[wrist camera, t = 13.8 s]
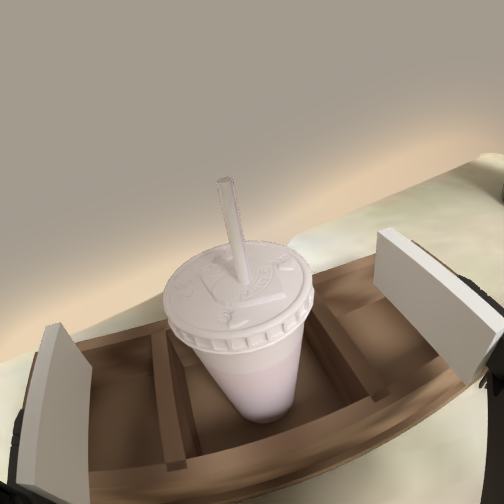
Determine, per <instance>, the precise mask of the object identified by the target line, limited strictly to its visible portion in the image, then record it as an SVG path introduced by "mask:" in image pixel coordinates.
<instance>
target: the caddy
mask: <svg viewBox="0 0 504 504" xmlns="http://www.w3.org/2000/svg"><path fill="white" fill-rule="evenodd" d="M411 242H413V243H414V244H415V245H417V246H418V247H419V248H421V249H422V250H423V251H425V252H426V253H427V254H429V255H430V256H431V257H433V258H434V259H435V260H436V261H438V262H439V263H440V264H441V265H443V266H444V267H445V268H447V269H448V270H449V271H450V272H451V273H453V274H454V275H455V276H458V274H456V273H455V272H454V271H453V270H451V269H450V268H449V267H448V266H446V265H445V264H444V263H442V262H441V261H440V260H439V259H437V258H436V257H435V256H433V255H432V254H431V253H429V252H428V251H427V250H425V249H424V248H423V247H421V246H420V245H419V244H417V243H416V242H414V241H413V240H411ZM375 258H376V253H375V254H373V255H370V256H367V257H364V258H361V259H358V260H355V261H352V262H350V263H347V264H344V265H341V266H338V267H335V268H332V269H329V270H326V271H323V272H320V273H317V274H314V275H312V285H313V288H314V300H313V306H312V308H311V310H310V312H309V314H308V316H307V318H306V320H305V321H304V330H303V336H302V344H301V351H300V359H299V366H298V373H297V380H296V386H295V393H294V399H293V404H292V406H291V408H290V410H289V411H288V412H287V414H286V415H284V416H283V417H282V418H280V419H278V420H276V421H274V422H270V423H255V422H251V421H249V420H247V419H245V418H244V417H243V416H242V415H241V414H240V413H239V412H238V411H237V409H236V408H235V407H234V405H233V404H232V403H231V401H230V400H229V399H228V397H227V396H226V395H225V393H224V392H223V391H222V389H221V388H220V387H219V385H218V384H217V383H216V381H215V380H214V378H213V377H212V376H211V374H210V373H209V371H208V370H207V369H206V367H205V366H204V364H203V363H202V361H201V360H200V359H199V357H198V356H197V355H196V353H195V352H194V350H193V349H192V347H189V346H188V345H186V344H185V343H184V342H183V341H181V340H180V339H179V338H178V337H176V336H175V334H174V332H173V331H172V329H171V327H170V325H169V323H168V319H166V320H162V321H159V322H155V323H151V324H148V325H144V326H140V327H136V328H133V329H129V330H125V331H121V332H117V333H113V334H109V335H106V336H102V337H98V338H94V339H89V340H85V341H81V342H77V343H75V344H76V346H77V347H78V349H79V350H80V351H81V353H82V354H83V355H84V357H85V358H86V360H87V361H88V362H89V364H90V365H91V366H92V377H91V389H90V403H89V423H88V476H89V495H90V504H228V503H232V502H236V501H240V500H244V499H248V498H252V497H255V496H259V495H262V494H266V493H269V492H272V491H276V490H279V489H282V488H285V487H288V486H291V485H293V484H296V483H299V482H302V481H304V480H307V479H310V478H312V477H315V476H317V475H320V474H322V473H325V472H327V471H329V470H332V469H334V468H336V467H338V466H341V465H343V464H345V463H347V462H349V461H351V460H354V459H356V458H358V457H360V456H362V455H364V454H366V453H368V452H370V451H372V450H373V449H375V448H377V447H379V446H381V445H383V444H385V443H386V442H388V441H390V440H392V439H393V438H395V437H397V436H399V435H400V434H402V433H404V432H405V431H407V430H409V429H410V428H412V427H413V426H415V425H417V424H418V423H420V422H421V421H423V420H424V419H426V418H427V417H429V416H430V415H432V414H433V413H435V412H436V411H438V410H439V409H440V408H442V407H443V406H445V405H446V404H447V403H449V402H450V401H452V400H453V399H454V398H456V397H457V396H458V395H459V394H461V393H462V392H463V391H465V390H466V389H467V388H468V387H470V386H471V385H472V384H473V383H475V382H476V381H477V380H478V379H479V378H481V377H482V376H483V375H484V374H485V373H486V372H487V371H488V367H487V366H486V365H485V366H484V368H483V370H482V371H481V373H480V374H479V376H478V377H476V378H475V379H474V380H473V381H471V382H470V383H469V384H468V385H465V384H464V383H463V382H462V381H461V379H460V378H459V377H458V376H457V375H456V374H455V372H454V371H453V370H452V369H451V368H450V367H449V365H448V364H447V363H446V362H445V361H444V360H443V358H442V357H441V356H440V355H439V354H438V353H437V352H436V351H435V349H434V348H433V347H432V346H431V345H430V344H429V343H428V342H427V340H426V339H425V338H424V337H423V336H422V335H421V334H420V333H419V332H418V331H417V329H416V328H415V327H414V326H413V325H412V324H411V323H410V322H409V321H408V320H407V319H406V318H405V316H404V315H403V314H402V313H401V312H400V311H399V310H398V309H397V308H396V307H395V306H394V305H393V304H392V303H391V302H390V301H389V300H388V299H387V298H386V297H385V295H384V294H383V293H382V292H381V291H380V290H379V289H378V288H377V287H376V286H375V285H374V284H373V278H374V268H375ZM37 355H38V352H35V355H34V359H33V363H32V367H31V371H30V375H29V379H28V383H27V387H26V392H25V397H24V402H23V407H22V409H25V406H26V401H27V396H28V391H29V387H30V382H31V378H32V374H33V370H34V366H35V362H36V358H37Z"/></svg>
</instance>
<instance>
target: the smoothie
mask: <svg viewBox="0 0 504 504" xmlns="http://www.w3.org/2000/svg"><path fill="white" fill-rule="evenodd" d="M216 183H217V187H218V192H219V196H220V202H221V206H222V211H223V215H224V220H225V224H226V229H227V234H228V238H229V243H228V244H224V245H220V246H217V247H214V248H211V249H209V250H206V251H204V252H202V253H200V254H198V255H196V256H194V257H193V258H191V259H190V260H188V261H187V262H185V263H184V264H183V265H182V266H181V267H179V268H178V269H177V270H176V271H175V273H174V274H173V275H172V276H171V278H170V279H169V281H168V283H167V284H166V287H165V289H164V292H163V307H164V310H165V313H166V315H167V317H168V323H169V325H170V327H171V329H172V331H173V332H174V334H175V336H176V337H178V338H179V339H180V340H181V341H183V342H184V343H185V344H186V345H188V346H189V347H192V349H193V350H194V352H195V353H196V355H197V356H198V357H199V359H200V360H201V361H202V363H203V364H204V366H205V367H206V369H207V370H208V371H209V373H210V374H211V376H212V377H213V378H214V380H215V381H216V383H217V384H218V385H219V387H220V388H221V389H222V391H223V392H224V393H225V395H226V396H227V397H228V399H229V400H230V401H231V403H232V404H233V405H234V407H235V408H236V409H237V411H238V412H239V413H240V414H241V415H242V416H243V417H244V418H245V419H247V420H249V421H251V422H255V423H270V422H274V421H276V420H278V419H280V418H282V417H283V416H284V415H286V414H287V412H288V411H289V410H290V408H291V406H292V404H293V399H294V393H295V386H296V380H297V373H298V366H299V359H300V351H301V344H302V336H303V330H304V321H305V320H306V318H307V316H308V314H309V312H310V310H311V308H312V306H313V300H314V288H313V285H312V272H311V269H310V267H309V265H308V263H307V262H306V260H305V259H304V258H303V257H302V256H301V255H300V254H298V253H297V252H295V251H294V250H292V249H290V248H288V247H286V246H283V245H280V244H276V243H272V242H266V241H245V240H244V235H243V230H242V225H241V220H240V215H239V209H238V204H237V199H236V193H235V188H234V183H233V178H231V177H225V178H221V179H219V180H217V181H216Z"/></svg>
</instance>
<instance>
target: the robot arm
mask: <svg viewBox="0 0 504 504" xmlns="http://www.w3.org/2000/svg"><path fill="white" fill-rule="evenodd" d="M502 198H503V200H504V185H503V191H502ZM373 284H374V285H375V286H376V287H377V288H378V289H379V290H380V291H381V292H382V293H383V294H384V295H385V297H386V298H387V299H388V300H389V301H390V302H391V303H392V304H393V305H394V306H395V307H396V308H397V309H398V310H399V311H400V312H401V313H402V314H403V315H404V316H405V318H406V319H407V320H408V321H409V322H410V323H411V324H412V325H413V326H414V327H415V328H416V329H417V331H418V332H419V333H420V334H421V335H422V336H423V337H424V338H425V339H426V340H427V342H428V343H429V344H430V345H431V346H432V347H433V348H434V349H435V351H436V352H437V353H438V354H439V355H440V356H441V357H442V358H443V360H444V361H445V362H446V363H447V364H448V365H449V367H450V368H451V369H452V370H453V371H454V372H455V374H456V375H457V376H458V377H459V378H460V379H461V381H462V382H463V383H464V384H465V385H468V384H469V383H470V382H471V381H473V380H474V379H475V378H476V377H478V376H479V374H480V373H481V371H482V370H483V368H484V366H485V365H486V366H487V367H488V371H487V372H486V374H485V376H484V377H483V379H482V380H481V382H480V383H479V388H482V386H483V385H484V383H485V382H486V381H487V384H486V386H485V389H487V395H488V436H487V454H486V466H485V475H484V483H483V490H482V497H481V503H480V504H504V308H503V307H502V306H500V305H499V304H498V303H497V302H496V301H495V300H494V299H492V298H491V297H490V296H488V295H487V293H485V292H484V291H483V290H480V287H478V286H477V285H476V284H475V283H474V282H472V281H471V280H469V279H467V278H465V277H463V276H461V275H458V276H455V275H454V274H453V273H451V272H450V271H449V270H448V269H447V268H445V267H444V266H443V265H441V264H440V263H439V262H438V261H436V260H435V259H434V258H433V257H431V256H430V255H429V254H427V253H426V252H425V251H423V250H422V249H421V248H419V247H418V246H417V245H415V244H414V243H413V242H411V241H410V240H409V239H407V238H406V237H405V236H403V235H402V234H400V233H399V232H398V231H396V230H395V229H393V228H392V227H390V228H386V229H383V230H380V231H377V245H376V258H375V268H374V278H373ZM91 377H92V366H91V365H90V364H89V362H88V361H87V360H86V358H85V357H84V355H83V354H82V353H81V351H80V350H79V349H78V347H77V346H76V344H75V343H74V341H73V340H72V339H71V337H70V336H69V334H68V333H67V331H66V330H65V328H64V327H63V325H62V324H61V323H57V324H52V325H49V326H46V328H45V331H44V334H43V338H42V341H41V344H40V348H39V351H38V355H37V358H36V362H35V366H34V370H33V374H32V378H31V382H30V387H29V391H28V396H27V401H26V406H25V409H20V411H19V413H18V415H17V418H16V420H15V422H14V428H13V436H12V441H11V444H12V447H11V449H10V457H9V467H8V480H7V485H6V484H5V483H3V482H1V481H0V504H90V495H89V476H88V423H89V403H90V389H91Z"/></svg>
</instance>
